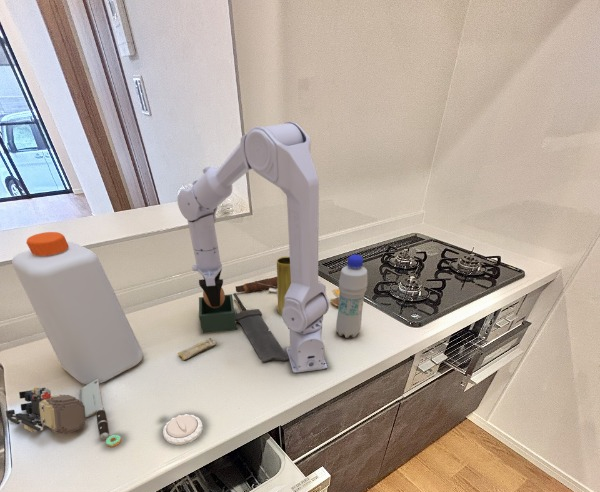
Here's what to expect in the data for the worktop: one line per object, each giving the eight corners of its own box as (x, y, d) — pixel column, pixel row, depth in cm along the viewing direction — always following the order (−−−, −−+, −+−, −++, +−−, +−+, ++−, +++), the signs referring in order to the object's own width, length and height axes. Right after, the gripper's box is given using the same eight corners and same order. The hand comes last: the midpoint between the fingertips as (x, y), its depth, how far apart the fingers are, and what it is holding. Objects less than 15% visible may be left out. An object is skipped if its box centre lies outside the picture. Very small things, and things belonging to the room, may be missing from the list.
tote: (237, 329, 92) (234, 312, 89) (202, 333, 91) (198, 316, 87) (234, 310, 99) (231, 294, 96) (202, 313, 98) (199, 297, 95)
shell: (345, 317, 99) (357, 307, 100) (344, 306, 96) (357, 296, 96) (327, 302, 103) (339, 293, 104) (326, 291, 99) (338, 282, 100)
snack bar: (183, 359, 81) (176, 351, 82) (184, 363, 82) (177, 355, 83) (218, 342, 86) (211, 334, 87) (217, 346, 87) (210, 338, 88)
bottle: (359, 341, 88) (370, 262, 74) (333, 338, 89) (339, 260, 75) (361, 327, 92) (372, 250, 79) (336, 325, 93) (342, 248, 80)
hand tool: (312, 278, 115) (312, 267, 113) (316, 280, 113) (316, 269, 111) (235, 293, 108) (233, 281, 106) (237, 296, 105) (235, 284, 103)
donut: (167, 430, 67) (166, 427, 67) (108, 449, 63) (106, 445, 62) (163, 422, 69) (162, 419, 68) (106, 440, 64) (104, 436, 64)
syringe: (284, 295, 107) (285, 293, 108) (285, 289, 106) (286, 287, 107) (252, 289, 106) (253, 287, 108) (253, 282, 105) (254, 280, 107)
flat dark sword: (262, 369, 80) (261, 363, 79) (223, 299, 103) (221, 293, 102) (291, 361, 82) (291, 354, 81) (246, 294, 105) (245, 288, 104)
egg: (220, 313, 90) (215, 287, 85) (201, 310, 91) (196, 284, 86) (230, 304, 93) (226, 278, 89) (212, 301, 95) (207, 275, 90)
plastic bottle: (117, 337, 89) (67, 218, 70) (151, 359, 82) (106, 234, 63) (57, 365, 81) (-19, 239, 62) (89, 392, 74) (14, 260, 54)
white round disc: (196, 411, 70) (194, 404, 68) (208, 435, 65) (206, 427, 64) (159, 424, 67) (156, 417, 66) (169, 450, 63) (166, 443, 61)
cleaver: (75, 388, 73) (96, 376, 73) (81, 392, 74) (101, 380, 74) (82, 448, 63) (106, 433, 63) (88, 451, 64) (111, 436, 65)
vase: (298, 315, 97) (298, 265, 87) (276, 315, 97) (273, 265, 87) (299, 305, 102) (298, 255, 92) (278, 305, 102) (275, 255, 92)
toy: (-4, 386, 65) (37, 403, 58) (44, 380, 71) (86, 395, 64) (1, 422, 66) (41, 443, 59) (47, 413, 73) (88, 431, 66)
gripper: (188, 237, 86) (199, 289, 95) (187, 260, 76) (199, 315, 85) (217, 235, 87) (225, 287, 96) (220, 257, 77) (228, 312, 86)
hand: (215, 300), depth 91 cm, fingers closed on egg, 5 cm apart
